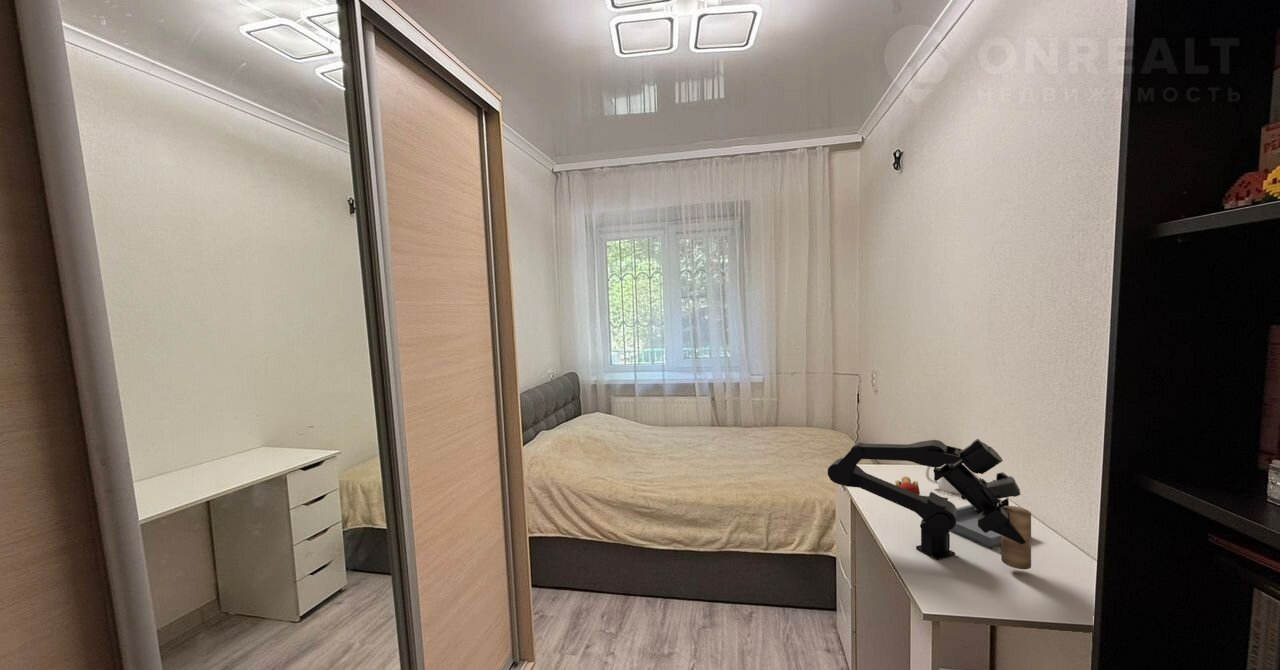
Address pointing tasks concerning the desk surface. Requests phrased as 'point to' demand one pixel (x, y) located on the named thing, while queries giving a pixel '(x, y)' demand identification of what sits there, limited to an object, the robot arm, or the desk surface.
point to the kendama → (908, 485)
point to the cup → (941, 482)
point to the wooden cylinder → (1012, 550)
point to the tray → (974, 528)
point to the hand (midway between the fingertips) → (1023, 537)
